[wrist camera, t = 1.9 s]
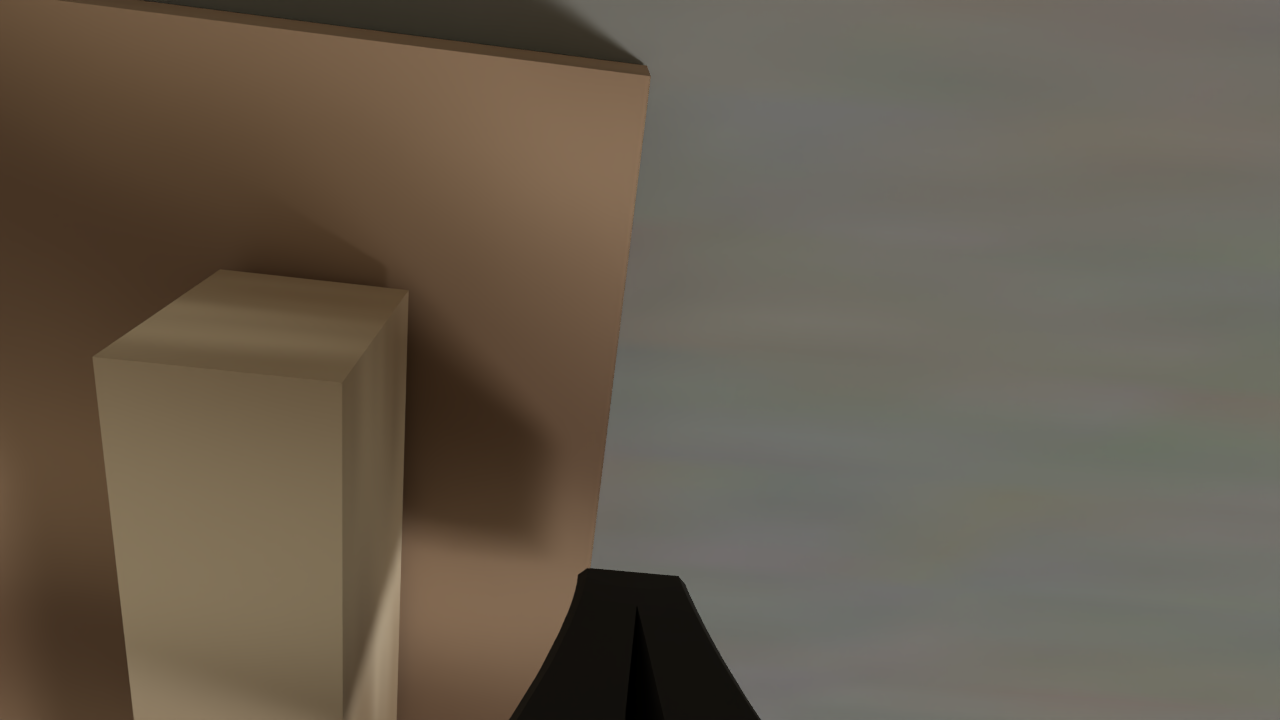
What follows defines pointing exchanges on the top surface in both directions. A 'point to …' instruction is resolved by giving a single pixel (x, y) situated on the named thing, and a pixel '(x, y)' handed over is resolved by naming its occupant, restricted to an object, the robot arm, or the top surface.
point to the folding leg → (259, 498)
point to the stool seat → (319, 250)
